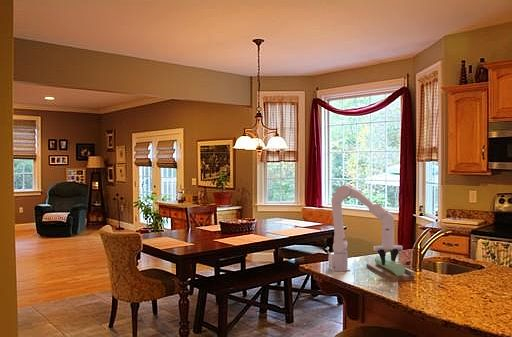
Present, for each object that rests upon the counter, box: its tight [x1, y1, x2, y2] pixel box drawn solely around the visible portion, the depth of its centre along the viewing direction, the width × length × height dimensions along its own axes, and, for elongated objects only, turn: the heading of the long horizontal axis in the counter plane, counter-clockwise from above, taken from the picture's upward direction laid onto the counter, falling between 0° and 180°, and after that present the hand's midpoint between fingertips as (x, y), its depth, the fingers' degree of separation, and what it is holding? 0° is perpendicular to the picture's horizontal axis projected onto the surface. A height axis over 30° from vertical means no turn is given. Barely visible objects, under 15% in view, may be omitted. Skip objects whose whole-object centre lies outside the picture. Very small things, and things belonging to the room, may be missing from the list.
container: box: [374, 255, 405, 276], centre depth 223 cm, size 6×6×25 cm
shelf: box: [366, 262, 415, 282], centre depth 223 cm, size 12×28×4 cm, turn 9°
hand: (388, 264), depth 223 cm, fingers closed on container, 4 cm apart
